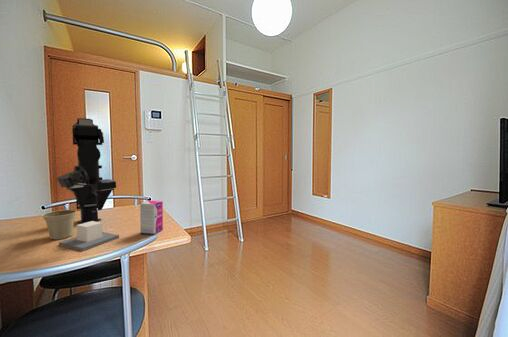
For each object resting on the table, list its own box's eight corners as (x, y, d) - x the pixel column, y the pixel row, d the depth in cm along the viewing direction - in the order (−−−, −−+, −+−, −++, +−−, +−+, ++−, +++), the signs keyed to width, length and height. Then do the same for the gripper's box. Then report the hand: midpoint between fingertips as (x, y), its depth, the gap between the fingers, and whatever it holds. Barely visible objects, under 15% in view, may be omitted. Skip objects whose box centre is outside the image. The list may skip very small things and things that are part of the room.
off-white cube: (77, 239, 77) (76, 225, 77) (92, 235, 82) (92, 221, 82) (87, 242, 75) (86, 226, 75) (102, 236, 80) (101, 222, 80)
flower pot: (49, 243, 77) (48, 218, 76) (39, 238, 82) (37, 214, 81) (82, 235, 85) (81, 211, 84) (71, 230, 90) (70, 208, 89)
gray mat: (58, 245, 76) (58, 242, 75) (96, 233, 87) (96, 230, 87) (82, 251, 71) (82, 247, 71) (119, 237, 82) (119, 235, 82)
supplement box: (154, 235, 85) (153, 204, 84) (140, 234, 86) (138, 203, 85) (163, 230, 90) (162, 200, 89) (150, 229, 91) (149, 200, 91)
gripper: (43, 163, 74) (46, 211, 76) (80, 164, 67) (83, 218, 68) (80, 161, 85) (82, 204, 86) (116, 162, 77) (118, 209, 79)
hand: (90, 208), depth 79 cm, fingers open, 9 cm apart
